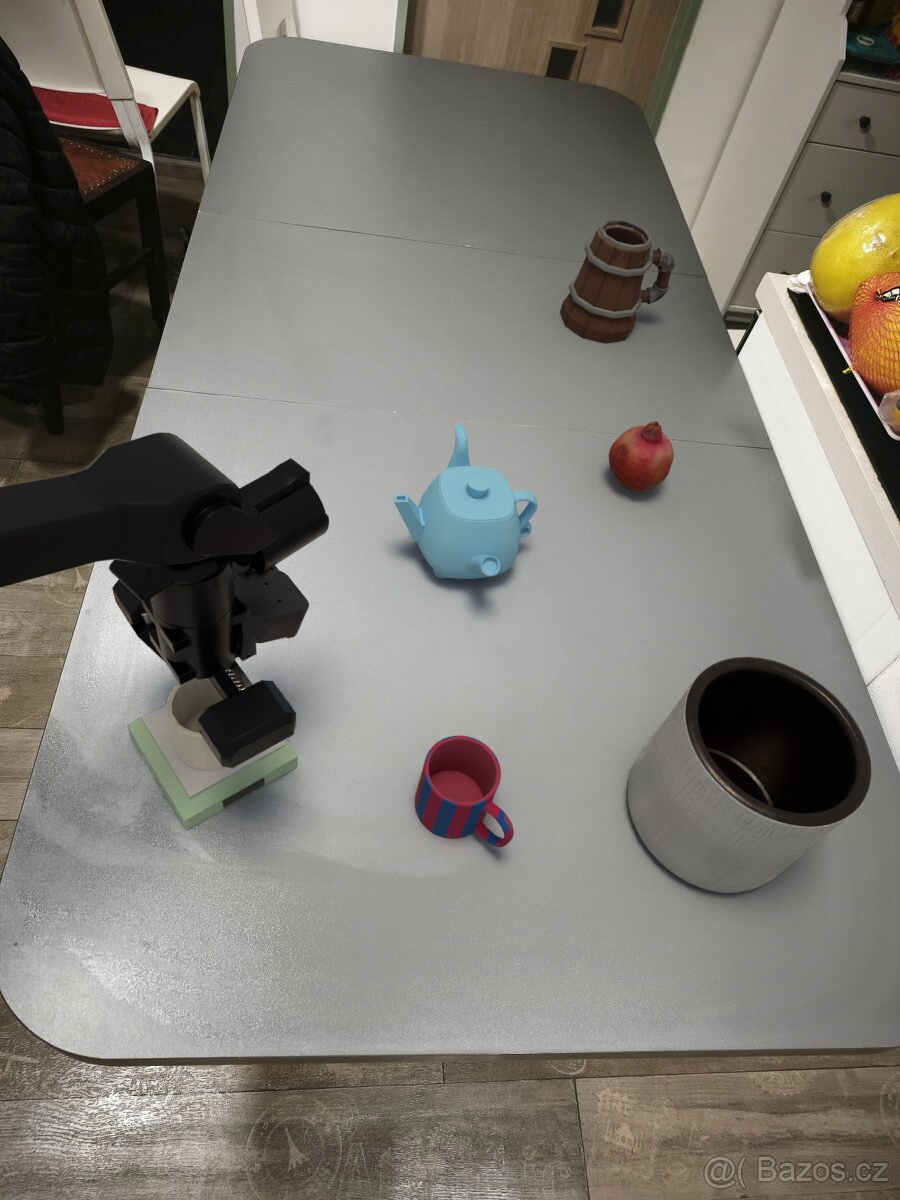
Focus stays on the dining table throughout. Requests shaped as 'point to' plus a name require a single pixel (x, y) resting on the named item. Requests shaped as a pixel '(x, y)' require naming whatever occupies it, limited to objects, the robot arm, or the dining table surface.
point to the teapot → (468, 518)
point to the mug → (614, 282)
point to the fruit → (641, 457)
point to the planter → (747, 775)
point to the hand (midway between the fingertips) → (209, 710)
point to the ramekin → (192, 722)
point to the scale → (203, 771)
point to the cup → (461, 790)
